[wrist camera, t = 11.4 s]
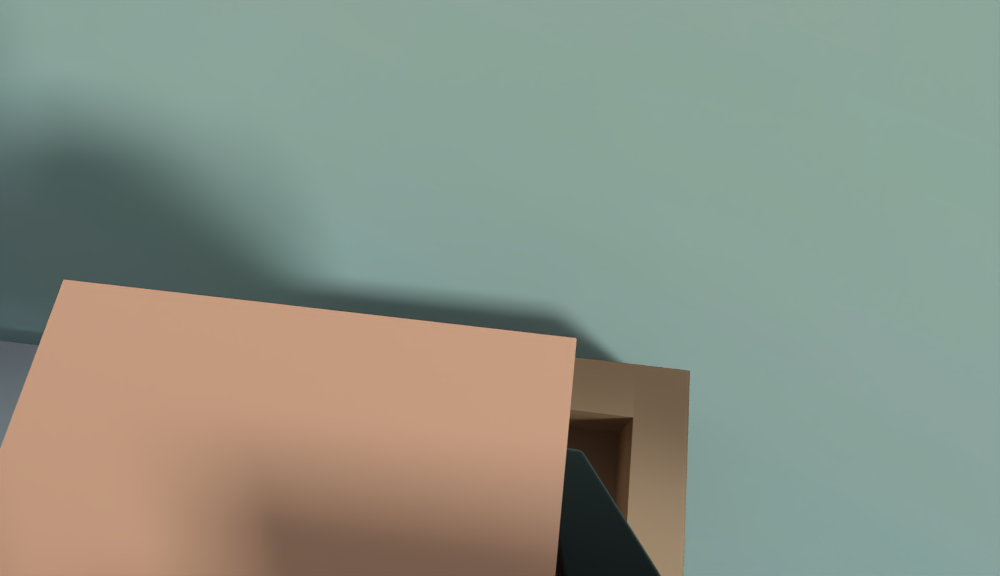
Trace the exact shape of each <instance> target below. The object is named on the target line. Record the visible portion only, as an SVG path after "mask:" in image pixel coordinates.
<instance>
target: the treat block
mask: <svg viewBox="0 0 1000 576" xmlns="http://www.w3.org/2000/svg"><path fill="white" fill-rule="evenodd" d="M576 341H577V338H571V337H562V336H553V335H545V334H536V333H527V332H518V331H510V330H501V329H492V328H483V327H475V326H466V325H457V324H449V323H440V322H431V321H422V320H414V319H405V318H396V317H387V316H379V315H370V314H361V313H352V312H344V311H335V310H326V309H317V308H309V307H300V306H291V305H282V304H274V303H265V302H256V301H247V300H239V299H230V298H221V297H212V296H204V295H195V294H186V293H177V292H169V291H160V290H151V289H142V288H134V287H125V286H116V285H108V284H99V283H90V282H81V281H73V280H63V282H62V285H61V288H60V290H59V293H58V296H57V298H56V301H55V304H54V306H53V309H52V312H51V314H50V317H49V320H48V322H47V325H46V328H45V330H44V333H43V336H42V338H41V341H40V344H39V346H38V349H37V352H36V354H35V357H34V360H33V362H32V365H31V368H30V370H29V373H28V376H27V378H26V381H25V384H24V386H23V389H22V392H21V394H20V397H19V400H18V402H17V405H16V408H15V410H14V413H13V416H12V418H11V421H10V424H9V426H8V429H7V432H6V434H5V437H4V440H3V442H2V445H1V448H0V576H555V572H556V561H557V550H558V539H559V528H560V517H561V506H562V495H563V484H564V473H565V462H566V451H567V440H568V429H569V418H570V407H571V396H572V385H573V374H574V363H575V352H576Z"/></svg>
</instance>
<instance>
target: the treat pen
mask: <svg viewBox="0 0 1000 576" xmlns="http://www.w3.org/2000/svg"><path fill="white" fill-rule="evenodd" d="M689 384H690V371H688V370H679V369H670V368H662V367H653V366H645V365H636V364H627V363H619V362H610V361H602V360H593V359H584V358H576V357H575V363H574V374H573V385H572V396H571V407H570V418H569V429H568V440H567V448H569V449H577V450H581V451H582V452H583V453H584V454H585V456H586V457H587V459H588V461H589V462H590V464H591V465H592V467H593V469H594V470H595V472H596V473H597V475H598V476H599V478H600V480H601V481H602V483H603V484H604V486H605V488H606V489H607V491H608V492H609V494H610V496H611V497H612V499H613V500H614V502H615V503H616V505H617V507H618V508H619V510H620V511H621V513H622V515H623V516H624V518H625V519H626V521H627V522H628V524H629V526H630V527H631V529H632V530H633V532H634V534H635V535H636V537H637V538H638V540H639V542H640V543H641V545H642V546H643V548H644V549H645V551H646V553H647V554H648V556H649V557H650V559H651V561H652V562H653V564H654V565H655V567H656V568H657V570H658V572H659V573H660V575H661V576H683V575H684V543H685V511H686V479H687V448H688V416H689Z"/></svg>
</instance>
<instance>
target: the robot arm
mask: <svg viewBox="0 0 1000 576" xmlns="http://www.w3.org/2000/svg"><path fill="white" fill-rule="evenodd" d="M555 576H661V575H660V573H659V572H658V570H657V568H656V567H655V565H654V564H653V562H652V561H651V559H650V557H649V556H648V554H647V553H646V551H645V549H644V548H643V546H642V545H641V543H640V542H639V540H638V538H637V537H636V535H635V534H634V532H633V530H632V529H631V527H630V526H629V524H628V522H627V521H626V519H625V518H624V516H623V515H622V513H621V511H620V510H619V508H618V507H617V505H616V503H615V502H614V500H613V499H612V497H611V496H610V494H609V492H608V491H607V489H606V488H605V486H604V484H603V483H602V481H601V480H600V478H599V476H598V475H597V473H596V472H595V470H594V469H593V467H592V465H591V464H590V462H589V461H588V459H587V457H586V456H585V454H584V453H583V452H582V451H581V450H577V449H569V448H567V451H566V462H565V473H564V484H563V495H562V506H561V517H560V528H559V539H558V550H557V561H556V572H555Z"/></svg>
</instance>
